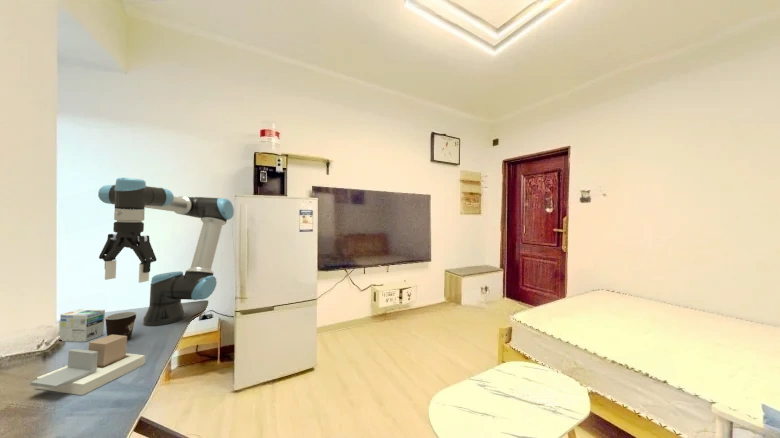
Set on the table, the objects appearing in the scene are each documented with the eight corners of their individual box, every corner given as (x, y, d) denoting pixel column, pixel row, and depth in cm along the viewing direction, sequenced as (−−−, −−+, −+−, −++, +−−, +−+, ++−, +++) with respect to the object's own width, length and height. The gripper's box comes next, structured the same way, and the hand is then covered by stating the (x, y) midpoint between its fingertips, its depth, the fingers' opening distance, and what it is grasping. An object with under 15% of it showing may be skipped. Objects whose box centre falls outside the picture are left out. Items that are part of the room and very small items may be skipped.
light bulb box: (104, 335, 105) (106, 309, 106) (85, 342, 99) (87, 315, 99) (77, 334, 105) (79, 308, 105) (57, 341, 98) (59, 314, 98)
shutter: (72, 367, 77) (74, 348, 77) (96, 370, 76) (97, 351, 76) (30, 385, 68) (32, 363, 69) (56, 388, 67) (57, 367, 68)
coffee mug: (113, 346, 96) (115, 320, 97) (97, 343, 98) (99, 317, 98) (148, 334, 108) (150, 310, 108) (133, 331, 109) (134, 308, 110)
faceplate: (104, 359, 88) (105, 350, 88) (144, 364, 86) (145, 355, 86) (35, 388, 72) (36, 377, 72) (82, 395, 70) (83, 384, 70)
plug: (109, 362, 85) (111, 334, 85) (125, 364, 84) (127, 336, 85) (86, 372, 79) (88, 342, 79) (102, 374, 78) (105, 344, 79)
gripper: (85, 219, 87) (82, 280, 87) (149, 223, 84) (146, 285, 85) (111, 219, 94) (109, 275, 95) (170, 222, 92) (168, 280, 92)
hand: (126, 280), depth 90 cm, fingers open, 13 cm apart
